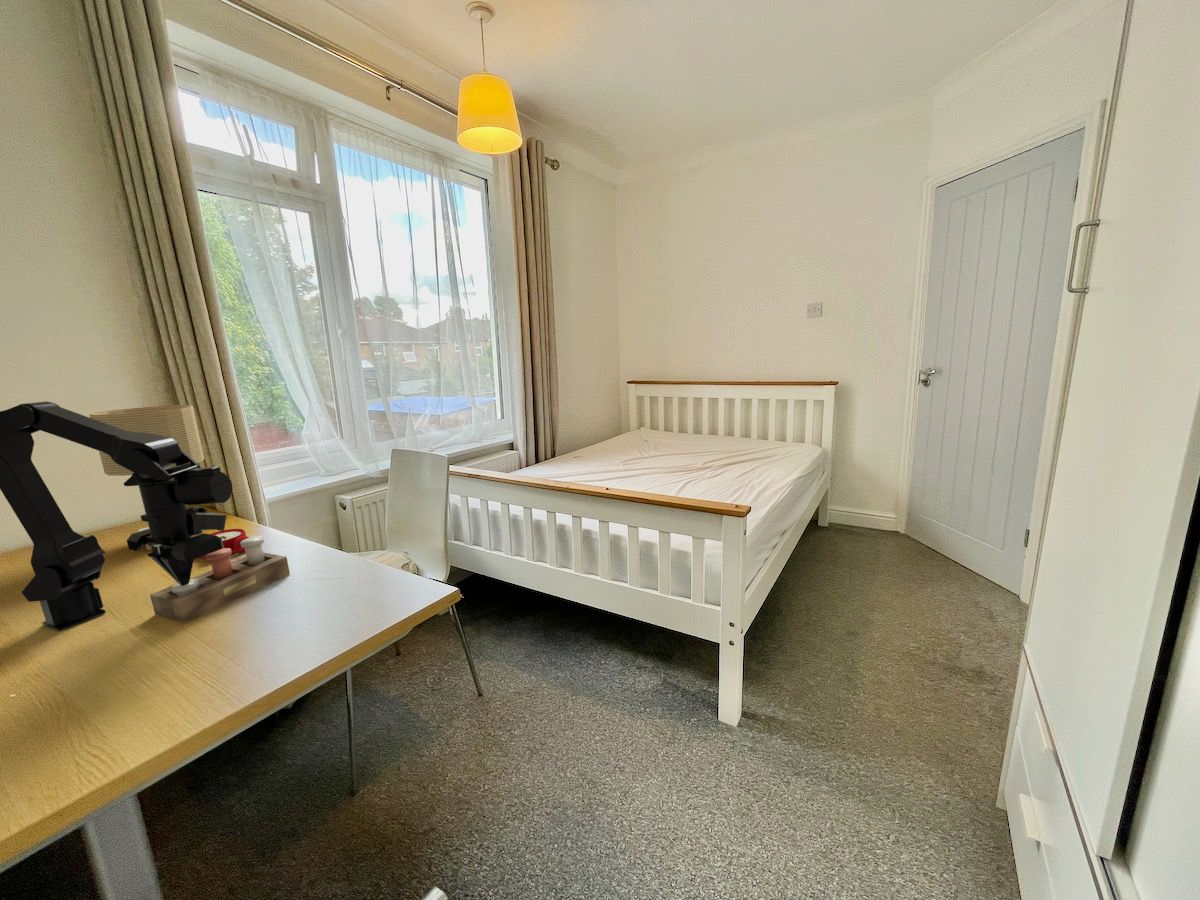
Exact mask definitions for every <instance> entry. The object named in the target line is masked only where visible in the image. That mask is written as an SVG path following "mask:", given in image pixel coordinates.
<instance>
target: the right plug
mask: <svg viewBox="0 0 1200 900" xmlns="http://www.w3.org/2000/svg"><path fill="white" fill-rule="evenodd" d="M264 539H265V538H264V536H261V535H259V536H258V535H257V536H251V537H249V538H247V539H244V540H242V541H241V542H240V543H241V547H243V548H245V552H244V553H245V557H247V562H248V565H256V564H260V563H262V562H264V561H265V558H264V553H265V552H264V549H263V543H265V540H264Z"/></svg>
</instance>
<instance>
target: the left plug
mask: <svg viewBox="0 0 1200 900" xmlns="http://www.w3.org/2000/svg"><path fill="white" fill-rule="evenodd" d="M199 585H200V584H199V580H198V579H191V578H190V582H189V583H188V584H186V585H180V584H179V583H178V582H177V583H175V584H173V585H171V586H172V587H171V589H172V593H174V594H177V596H179V597H181V596H183V595H185V594H188V593H190V592H193V591H195V590H197V587H199Z"/></svg>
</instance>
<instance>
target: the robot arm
mask: <svg viewBox="0 0 1200 900" xmlns="http://www.w3.org/2000/svg"><path fill="white" fill-rule="evenodd" d="M39 431H41V432H44V433H47V434H50V435H52V436H53V435H54V436H56V437H59V438H61V439H64V440H67V441H70V442H72V443H76V444H78V445H82V446H84V447H87V448H89V449H93V450H96V451H98V452H99V451H101V452H103V453H105V454H107V455H109V456H110V457H111V458H112V460H113V461H114V462H115V463H116V464H118V465H120V466H122V467H124V468H126V469H128V470H130V471H132V472H134V473H133V474H132V475H130V477H129V478H128V479H127V480H126V481H124V483H123V485H124V486H125V487H136V486H137V487H138V488H139V489H138V490H139V493H140V497H141V500H142V504H143V509H144V512H145V514H142V515H140V519H141V522H147V525H148V527H149V529H147V530H143V531H140V532H139V531H137V532H133V533H131V534H130V535H129V537H128V538H127V539H126V543H127V547H128V550H131V551H134V552H138V551H141V549H142V547H143V546H146V544H148V546H151V548H152V549H151V552H149V553H147V554H146V555H147V557H148V558H151V559H152V560H153V561H154V562H155V563H156V564H157V565H158V566H160V567H161V568H162V569H163V571H165V572H166V573H167V574H168V575H169V576H170V577H171V578H173V580H174V581H175V582H177V583H179V584H180V585H186V584H188V583H189V582H190V579H191V575H192V571H193V564H194V561H195V559H198V558H201V556H204V555H207V554H210V553H212V552H215V551H218V550H221V549H223V548H224V546H223V541H222V538H220V537H218V536H216V535H211V534H212V533H205V532H204V533H203V532H202V530H207V531H208V530H210V531H212V530H213V531H214V530H215V531H217V532H219V531H223V530H226V529H225V527H226V522H227V516H228V514H224V513H220V512H219V513H218V512H209V511H207V509H206V507H201V506H194V505H210V504H223V503H226V502H228V501H229V499H230V498H231V495H232V493H233V482H232V480H231V479H230V477H229V476H228V475H227V474H226V473H225V472H222V471H221V467H220V466H219V465H213V466H209V467H201V465H200V464H199V463H196V462H195V461H194V460H193V459H192V458H191V457H190V456H188V455H187V454H186V453H185V452H184V451H183V450H182V449H181V448H180V447H179V445H178V442H176V441H175V440H174V439H172V438H169V437H165V436H160V435H155V434H150V433H138V432H130V431H125V430H122V429H120V428H117V427H114V426H111V425H108V424H106V423H103V422H100V421H97V420H95V419H92V418H90V416H86V415H85V414H84V415H83V414H80V413H78V412H75V411H73V410H70V409H66V408H64V407H61V406H60V405H58V404H57V403H55V402H52V401H51V402H50V401H38V402H37V401H35V402H28V403H20V404H18V405H16V406H13V407H10V408H8V409H4V410H0V491H1V493H2V495H3V496H4V497H5V499H6V501H7V502H8V504H9V506H10V507H11V510H12V511H13V512H14V514H15V515H16V517H17V519H18V520H19V522H20V525H22V527H23V529H24V530H25V532H26V533H27V536H29V539H30V540H31V541H32V544H33V547H32V554H31V557H30V565H31V568H32V571H33V573H34V577H33V578H31V580H30V581H29V582H28V583H27V585H26V586H25V587H24V588H23V590H22V591H21V594H22V595H23V596H24V598H25V599H26V601H27V602H32V603H33V602H39V603H40V607H41V609H42V613H43V616H44V619H45V621H42V622H41V624H42V626H44V627H47V628H49V629H53V630H56V631H58V632H60V631H64V630H65V629H68V628H71V627H73V626H76V625H79V624H82V623H84V622H86V621H89V620H91V619H94V618H96V617H99V616H101V615H103V614H106V609H103V608H104V604H103V600H102V596H101V594H100V590H99V588H97V587H95V586H94V582H93V581H95V580H97V579H99V578H101V571H102V568H103V566H104V564H105V562H106V558H105V556H104V554H105V553H106V551H105V550H104V549H103V548H102V547H101V546H100V544H99V541H98V539H97V537H96V536H95V535H94V534H89V535H88V536H84V535H82V534H80V533H78V532H75V531H74V530H73V529H72V527H71V526H70V524H69V522H68V520H67V519H66V517H65V515H64V514H63V512H62V509H60V507H59V505H58V503H57V501H56V500H55V498H54V496H53V495H52V493H51V492H50V490H49V488H48V486H47V484H46V483H45V481H44V480H43V477H42V476H41V475H40V473H39V471H38V469H37V467H36V466H35V464H34V463H33V461H32V457H33V450H34V447H35V440H34V438H33V436H32V434H34V433H37V432H39ZM174 465H177V466H175V467H172V468H168V467H171V466H174ZM165 468H168V469H165ZM189 506H192V507H189ZM200 533H203V534H201V535H198V536H195V537H191V536H192V535H197V534H200Z"/></svg>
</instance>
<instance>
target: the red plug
mask: <svg viewBox="0 0 1200 900" xmlns="http://www.w3.org/2000/svg"><path fill="white" fill-rule="evenodd" d="M231 555H233V554H232V552H231V549H230V548H223V549H221V550H218V551H215V552H212V553H210V554H207V555H206V558H207V559H206V558H205V559H206V560H207V561H208V562H209V561H210V566H211V570H213V574H214V578H215V579H222V578H226V577H229V576H231V575H232V574H233V571H232V566H231V562H232V561H231V559H230V556H231Z"/></svg>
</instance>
